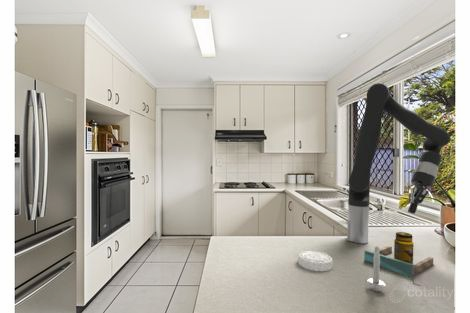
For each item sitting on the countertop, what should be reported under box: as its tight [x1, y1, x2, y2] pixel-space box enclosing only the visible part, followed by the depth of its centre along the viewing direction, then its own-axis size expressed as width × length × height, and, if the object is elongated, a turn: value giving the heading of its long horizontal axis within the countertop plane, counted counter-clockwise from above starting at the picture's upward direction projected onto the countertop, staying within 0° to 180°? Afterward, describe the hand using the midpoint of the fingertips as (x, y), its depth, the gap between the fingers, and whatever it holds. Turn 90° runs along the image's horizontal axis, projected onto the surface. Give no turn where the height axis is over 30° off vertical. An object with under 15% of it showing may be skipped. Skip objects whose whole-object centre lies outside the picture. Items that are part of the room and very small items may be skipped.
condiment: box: [393, 231, 414, 265], centre depth 99 cm, size 7×8×12 cm
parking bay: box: [363, 245, 434, 278], centre depth 101 cm, size 20×16×4 cm
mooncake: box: [297, 250, 333, 272], centre depth 97 cm, size 12×12×4 cm
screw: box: [366, 246, 386, 292], centre depth 79 cm, size 13×5×5 cm
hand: (411, 212), depth 107 cm, fingers closed
